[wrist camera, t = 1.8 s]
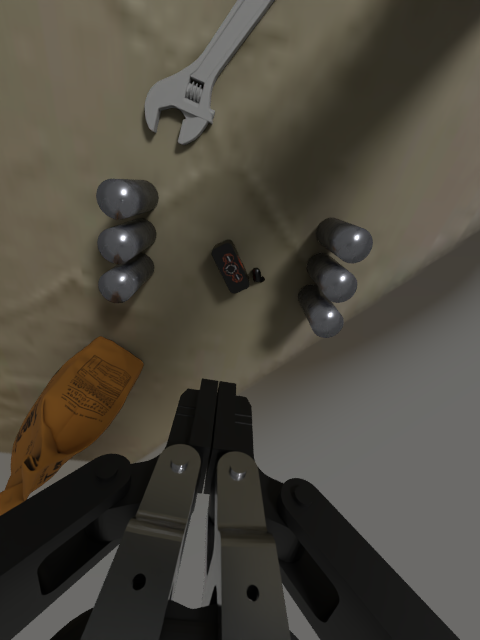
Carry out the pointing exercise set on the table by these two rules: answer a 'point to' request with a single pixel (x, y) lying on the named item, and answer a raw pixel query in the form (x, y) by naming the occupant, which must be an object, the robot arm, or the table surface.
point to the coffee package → (69, 415)
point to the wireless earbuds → (233, 267)
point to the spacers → (140, 233)
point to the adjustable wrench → (203, 73)
